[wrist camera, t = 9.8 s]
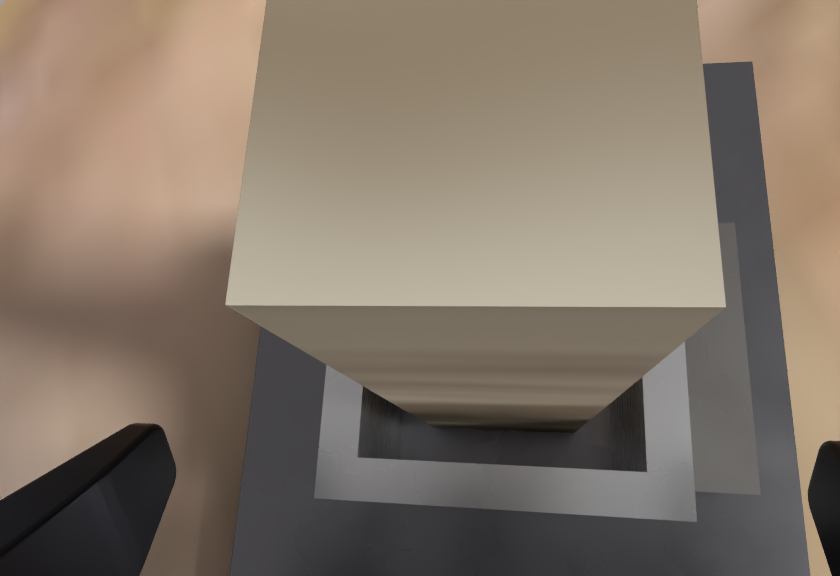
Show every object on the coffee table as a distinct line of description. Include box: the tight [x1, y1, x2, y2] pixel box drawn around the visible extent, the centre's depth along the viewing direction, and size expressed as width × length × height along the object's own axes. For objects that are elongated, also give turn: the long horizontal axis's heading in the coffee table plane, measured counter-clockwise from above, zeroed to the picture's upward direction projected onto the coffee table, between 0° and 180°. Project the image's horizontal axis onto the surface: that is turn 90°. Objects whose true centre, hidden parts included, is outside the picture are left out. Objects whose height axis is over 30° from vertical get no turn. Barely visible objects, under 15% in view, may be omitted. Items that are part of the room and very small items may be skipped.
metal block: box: [225, 0, 726, 433], centre depth 11 cm, size 4×4×12 cm
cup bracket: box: [230, 62, 810, 576], centre depth 15 cm, size 18×14×6 cm
